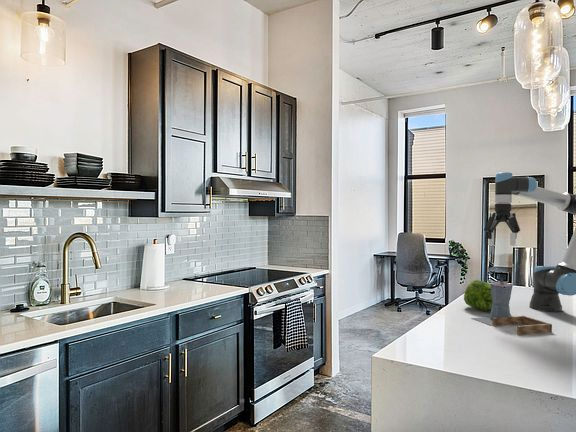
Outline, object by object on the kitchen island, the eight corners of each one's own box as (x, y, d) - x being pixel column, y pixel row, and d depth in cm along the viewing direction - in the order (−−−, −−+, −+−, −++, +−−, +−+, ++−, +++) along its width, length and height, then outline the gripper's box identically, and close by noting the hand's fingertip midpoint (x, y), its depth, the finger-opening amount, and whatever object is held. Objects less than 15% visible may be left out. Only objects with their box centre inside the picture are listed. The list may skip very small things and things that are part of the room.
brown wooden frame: (523, 323, 199) (523, 315, 199) (551, 332, 184) (552, 324, 184) (492, 325, 193) (492, 317, 193) (519, 335, 179) (519, 326, 179)
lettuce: (498, 321, 212) (510, 293, 210) (457, 302, 223) (468, 275, 222) (502, 319, 225) (514, 293, 224) (463, 301, 237) (474, 276, 235)
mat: (498, 316, 210) (498, 316, 210) (518, 323, 198) (518, 322, 198) (470, 318, 205) (470, 318, 205) (490, 325, 193) (490, 325, 193)
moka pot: (494, 323, 196) (495, 280, 196) (484, 315, 212) (485, 275, 211) (516, 324, 195) (517, 281, 194) (504, 316, 210) (505, 275, 210)
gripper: (516, 204, 222) (515, 244, 222) (477, 202, 214) (476, 245, 215) (528, 203, 214) (527, 246, 215) (488, 202, 207) (487, 246, 208)
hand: (501, 245), depth 215 cm, fingers open, 13 cm apart
